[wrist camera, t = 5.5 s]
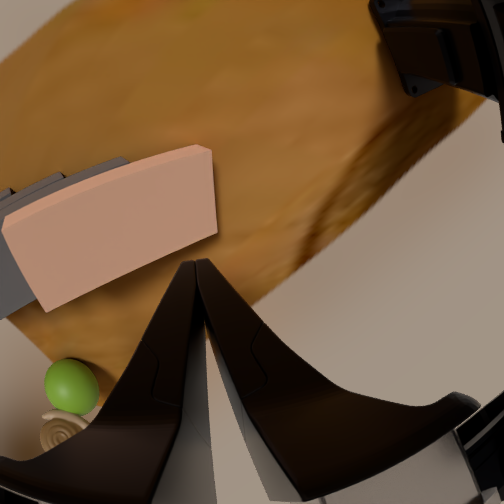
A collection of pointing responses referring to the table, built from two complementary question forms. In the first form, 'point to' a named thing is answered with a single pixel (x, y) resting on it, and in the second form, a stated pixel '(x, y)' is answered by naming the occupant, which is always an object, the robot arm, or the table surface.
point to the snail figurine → (67, 400)
